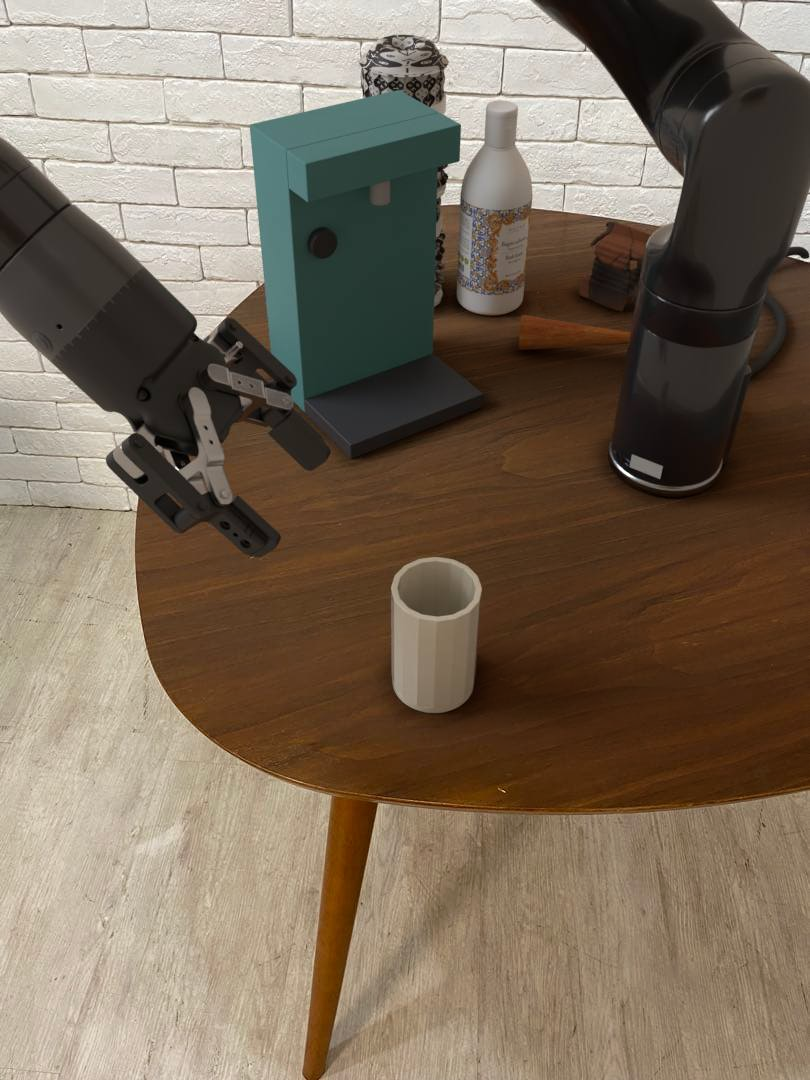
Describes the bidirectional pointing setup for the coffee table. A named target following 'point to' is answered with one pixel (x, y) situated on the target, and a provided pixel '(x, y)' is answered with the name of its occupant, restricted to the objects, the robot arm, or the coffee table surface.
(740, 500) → the coffee table surface
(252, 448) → the coffee table surface
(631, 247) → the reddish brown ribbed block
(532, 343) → the wooden cone
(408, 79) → the patterned cylindrical canister
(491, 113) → the bath foam
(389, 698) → the coffee table surface
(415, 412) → the coffee maker
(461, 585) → the container
